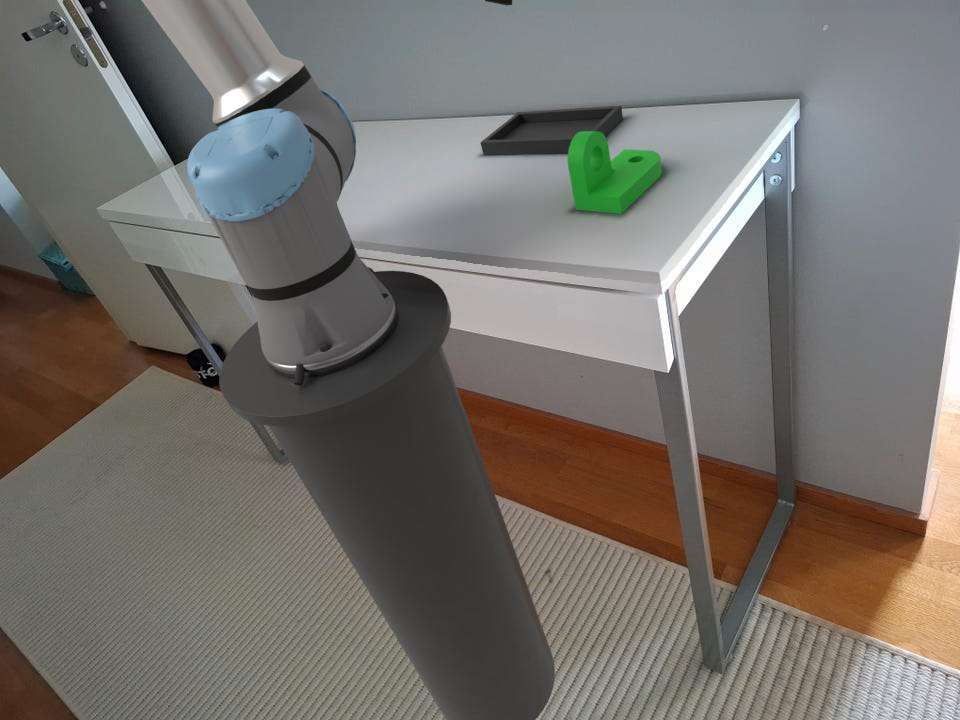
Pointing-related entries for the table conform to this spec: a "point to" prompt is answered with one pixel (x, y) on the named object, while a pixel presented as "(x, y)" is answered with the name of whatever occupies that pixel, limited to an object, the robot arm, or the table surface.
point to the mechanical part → (608, 173)
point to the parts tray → (549, 130)
